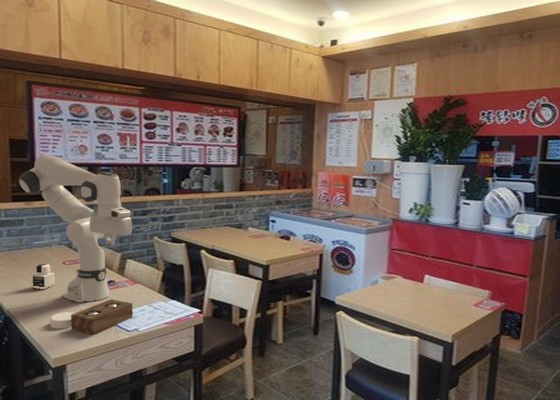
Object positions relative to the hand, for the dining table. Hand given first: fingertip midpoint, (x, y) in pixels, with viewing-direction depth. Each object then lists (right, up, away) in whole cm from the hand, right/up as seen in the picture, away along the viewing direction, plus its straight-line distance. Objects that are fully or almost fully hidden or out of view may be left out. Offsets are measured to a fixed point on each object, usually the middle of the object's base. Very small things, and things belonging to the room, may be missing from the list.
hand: (110, 244), depth 172 cm
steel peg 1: (-3, -31, -9) cm, 33 cm away
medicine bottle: (-52, -27, +42) cm, 72 cm away
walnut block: (-1, -32, -4) cm, 32 cm away
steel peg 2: (+1, -30, 0) cm, 30 cm away
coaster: (-17, -32, -5) cm, 36 cm away
